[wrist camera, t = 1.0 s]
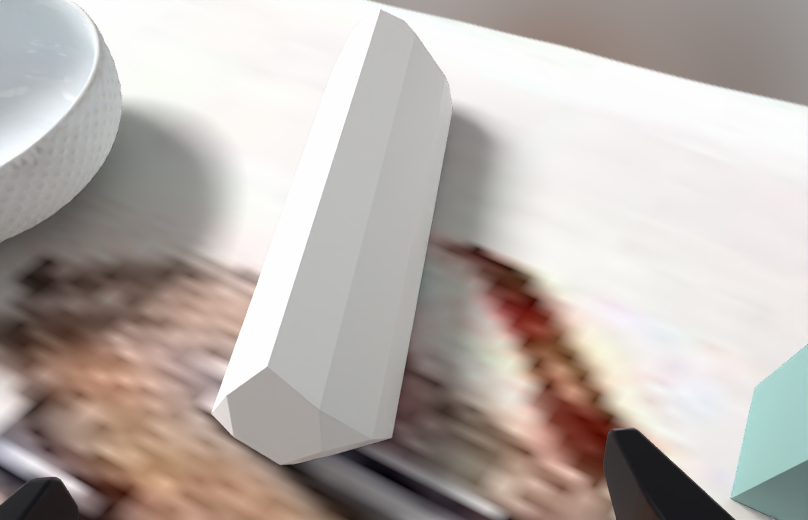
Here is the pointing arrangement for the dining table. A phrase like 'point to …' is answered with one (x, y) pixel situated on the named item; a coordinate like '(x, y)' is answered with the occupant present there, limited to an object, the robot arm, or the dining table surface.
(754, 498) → the teal block
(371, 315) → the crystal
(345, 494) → the dining table surface
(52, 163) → the cereal bowl
